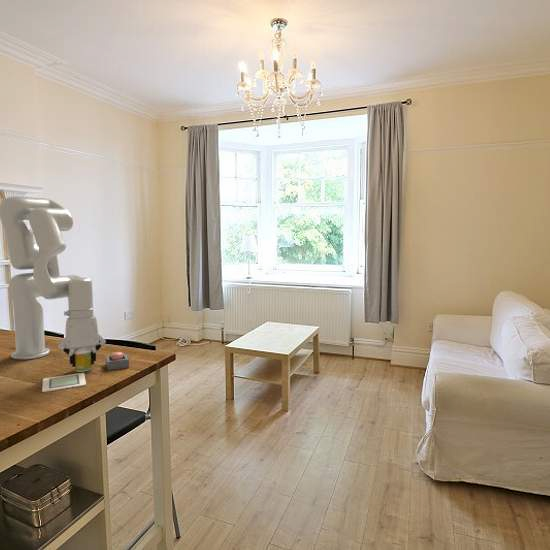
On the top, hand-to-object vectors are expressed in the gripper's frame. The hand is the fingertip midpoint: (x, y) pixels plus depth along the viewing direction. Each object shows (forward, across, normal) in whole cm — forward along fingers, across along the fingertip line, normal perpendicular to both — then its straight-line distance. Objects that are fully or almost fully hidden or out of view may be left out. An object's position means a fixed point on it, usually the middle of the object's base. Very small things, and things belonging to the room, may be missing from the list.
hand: (83, 364), depth 138 cm
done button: (0, +11, -1) cm, 11 cm away
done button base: (+2, +11, -1) cm, 11 cm away
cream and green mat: (+2, -6, -10) cm, 12 cm away
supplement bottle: (+2, 0, 0) cm, 2 cm away
